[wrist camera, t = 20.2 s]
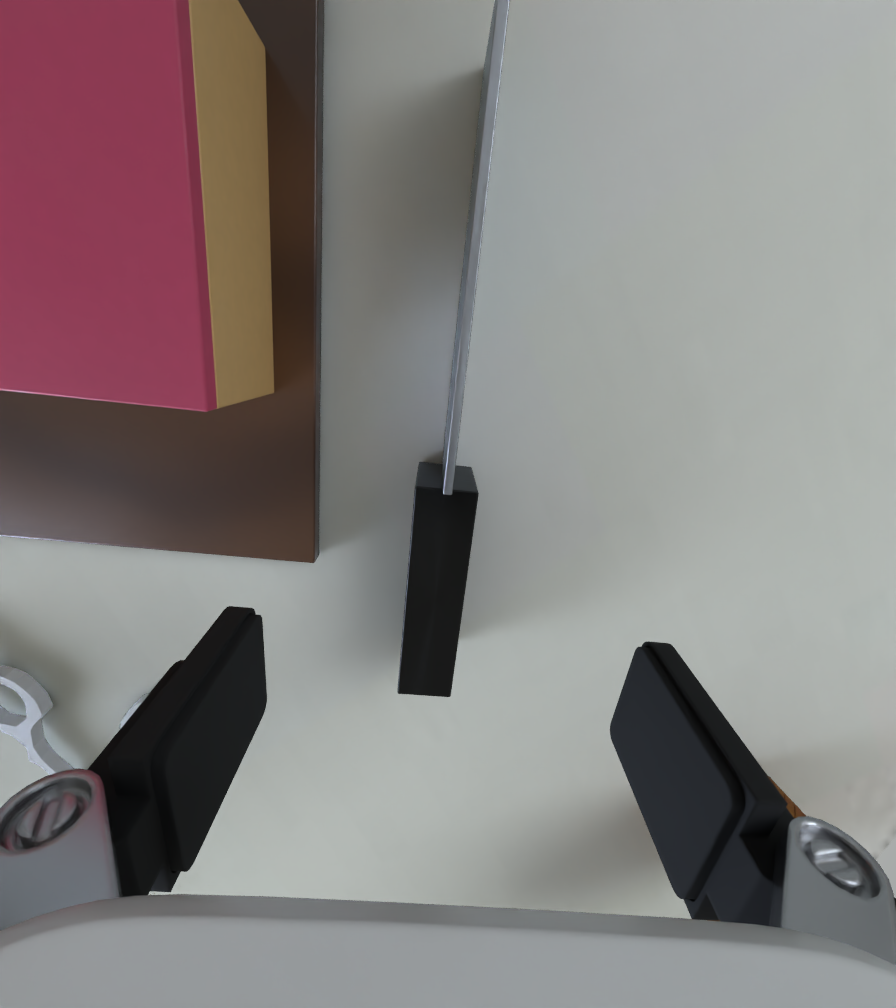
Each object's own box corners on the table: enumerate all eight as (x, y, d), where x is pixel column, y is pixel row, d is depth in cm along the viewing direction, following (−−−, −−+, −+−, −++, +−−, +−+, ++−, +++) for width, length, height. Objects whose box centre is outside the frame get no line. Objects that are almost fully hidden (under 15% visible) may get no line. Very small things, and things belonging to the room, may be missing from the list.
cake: (16, 8, 12) (-244, -200, 8) (265, 47, 13) (164, -129, 8) (78, 372, 16) (-75, 383, 11) (274, 393, 16) (207, 412, 11)
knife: (454, 59, 14) (460, -51, 10) (523, 70, 14) (555, -35, 10) (403, 641, 21) (395, 705, 17) (448, 644, 21) (450, 709, 17)
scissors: (191, 683, 21) (168, 935, 27) (199, 671, 21) (175, 919, 28) (-53, 638, 19) (-16, 912, 26) (-35, 627, 20) (-4, 897, 26)
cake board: (-441, -298, 11) (-506, -347, 10) (326, -161, 12) (318, -195, 11) (-136, 515, 18) (-162, 522, 17) (319, 555, 19) (314, 563, 19)
